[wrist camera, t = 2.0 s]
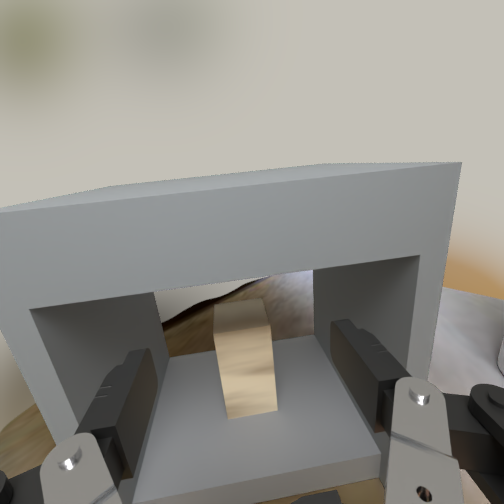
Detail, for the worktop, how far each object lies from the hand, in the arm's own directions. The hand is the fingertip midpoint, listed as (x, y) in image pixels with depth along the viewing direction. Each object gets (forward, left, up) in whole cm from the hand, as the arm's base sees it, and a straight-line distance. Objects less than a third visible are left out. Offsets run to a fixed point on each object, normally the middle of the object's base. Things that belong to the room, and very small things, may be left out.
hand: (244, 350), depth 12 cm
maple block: (-10, -7, -16) cm, 20 cm away
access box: (-10, -7, -19) cm, 22 cm away
